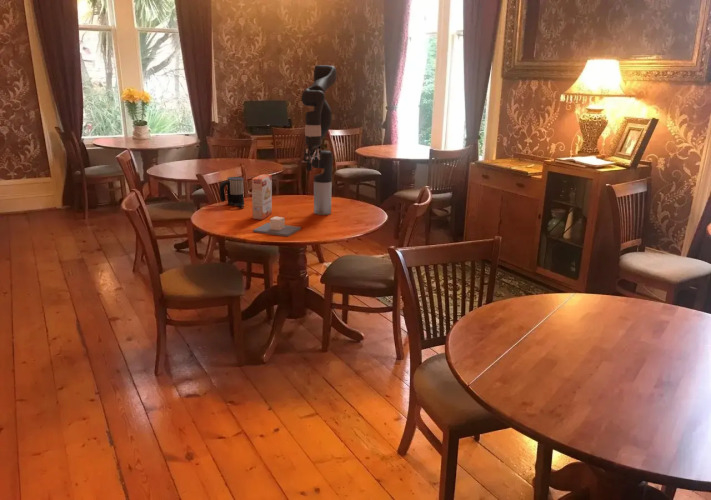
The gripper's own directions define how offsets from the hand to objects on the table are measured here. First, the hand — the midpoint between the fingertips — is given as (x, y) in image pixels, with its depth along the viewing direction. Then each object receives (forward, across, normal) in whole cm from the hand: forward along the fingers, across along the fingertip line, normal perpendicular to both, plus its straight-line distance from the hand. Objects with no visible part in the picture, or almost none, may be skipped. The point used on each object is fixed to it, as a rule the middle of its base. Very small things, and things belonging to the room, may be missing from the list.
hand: (312, 169), depth 268 cm
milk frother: (+28, -20, -55) cm, 65 cm away
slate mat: (+28, +14, -12) cm, 34 cm away
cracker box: (+28, -6, -31) cm, 42 cm away
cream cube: (+27, +14, -12) cm, 33 cm away
